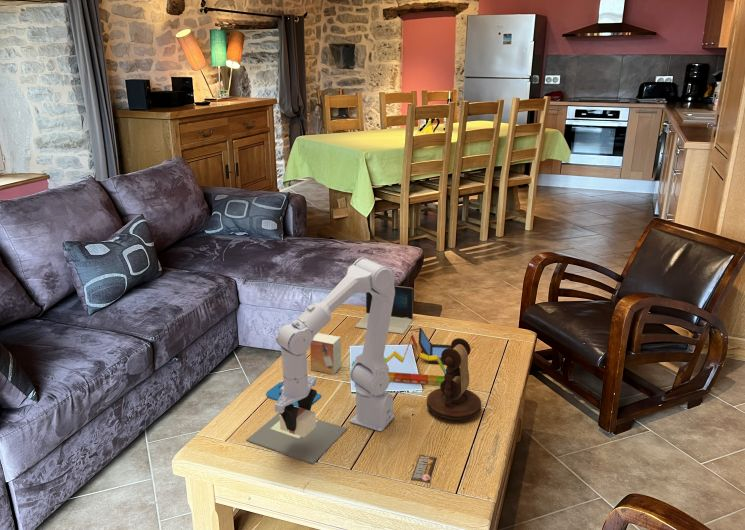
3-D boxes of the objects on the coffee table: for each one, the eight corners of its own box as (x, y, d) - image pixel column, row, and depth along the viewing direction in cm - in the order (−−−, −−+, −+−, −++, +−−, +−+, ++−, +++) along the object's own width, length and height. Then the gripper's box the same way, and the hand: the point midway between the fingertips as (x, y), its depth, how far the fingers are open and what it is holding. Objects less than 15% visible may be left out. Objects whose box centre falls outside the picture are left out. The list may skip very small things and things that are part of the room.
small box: (310, 370, 188) (309, 339, 184) (318, 362, 193) (317, 332, 189) (334, 375, 185) (333, 343, 181) (341, 366, 190) (341, 336, 186)
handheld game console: (452, 365, 190) (453, 344, 188) (417, 364, 192) (418, 343, 189) (451, 347, 202) (452, 327, 200) (419, 346, 203) (419, 326, 201)
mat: (346, 429, 158) (346, 428, 158) (312, 464, 145) (312, 462, 145) (283, 409, 167) (283, 408, 167) (246, 441, 154) (246, 439, 154)
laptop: (354, 328, 217) (354, 294, 212) (366, 314, 228) (366, 282, 223) (403, 335, 211) (403, 300, 207) (412, 321, 222) (413, 287, 218)
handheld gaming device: (280, 380, 180) (322, 393, 173) (280, 384, 181) (322, 397, 174) (262, 393, 174) (305, 407, 167) (262, 397, 174) (305, 411, 167)
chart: (351, 380, 183) (350, 334, 178) (353, 374, 186) (352, 330, 181) (453, 387, 178) (455, 341, 173) (454, 382, 181) (456, 336, 176)
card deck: (316, 426, 148) (315, 412, 147) (304, 437, 144) (303, 422, 143) (292, 418, 152) (291, 404, 150) (280, 429, 147) (279, 415, 146)
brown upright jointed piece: (469, 430, 158) (473, 361, 151) (417, 414, 164) (419, 348, 158) (488, 403, 170) (492, 338, 163) (439, 389, 177) (441, 327, 170)
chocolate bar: (430, 487, 138) (430, 484, 138) (409, 483, 139) (409, 480, 139) (438, 457, 148) (438, 455, 148) (418, 454, 149) (418, 451, 149)
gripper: (298, 357, 151) (301, 404, 155) (262, 384, 139) (266, 434, 143) (322, 363, 148) (324, 411, 152) (287, 391, 136) (291, 443, 140)
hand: (298, 423), depth 147 cm, fingers closed on card deck, 5 cm apart
